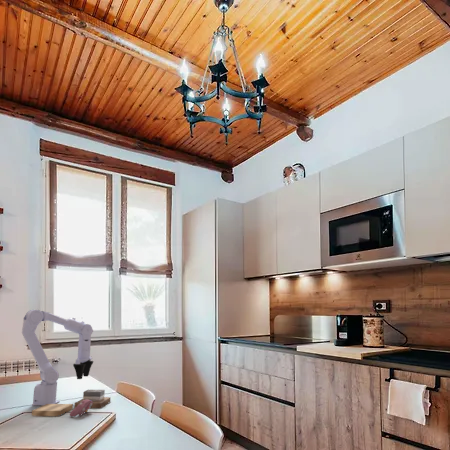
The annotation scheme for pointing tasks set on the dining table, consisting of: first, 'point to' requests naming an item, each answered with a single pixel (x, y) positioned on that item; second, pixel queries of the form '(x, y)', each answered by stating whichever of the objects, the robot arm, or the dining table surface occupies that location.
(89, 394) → the grey rectangular block
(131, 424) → the dining table surface
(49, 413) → the oak stand
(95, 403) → the walnut stand
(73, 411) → the video game controller
